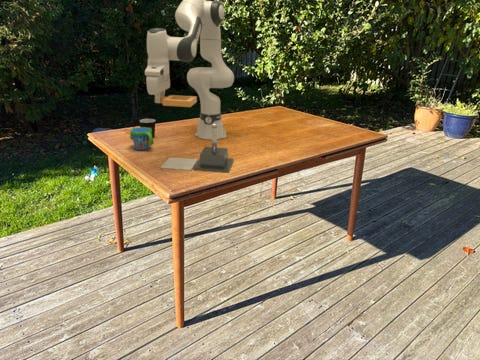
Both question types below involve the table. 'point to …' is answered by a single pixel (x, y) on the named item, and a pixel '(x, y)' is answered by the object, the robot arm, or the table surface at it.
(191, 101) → the orange handled frame
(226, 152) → the stand
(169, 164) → the mat
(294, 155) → the table surface
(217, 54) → the robot arm
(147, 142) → the snack cup
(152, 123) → the coffee mug
